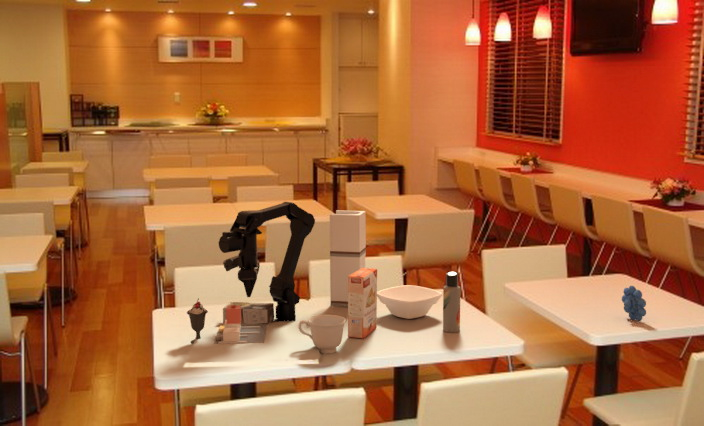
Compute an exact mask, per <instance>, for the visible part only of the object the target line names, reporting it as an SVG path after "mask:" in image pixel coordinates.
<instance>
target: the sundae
mask: <svg viewBox="0 0 704 426" xmlns="http://www.w3.org/2000/svg"><path fill="white" fill-rule="evenodd" d="M199 300H200V298H199V297H198V298H197V300H196V303H193V305H192V307H191V309H189V310H187V311H186V315H188V316H189V320H190V327H191V329H192V331H194V332H195V338H194V339H193V340H190V343H191V344H194V343H195V341H196V340H201V339H202V338H201V331H202V330H203V329H204V328H205V321H206V315H207V313H209V311H208V310H207V309H206V308H205V307H204V305H203V304H202V303H201V302H200V301H199Z"/></svg>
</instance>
